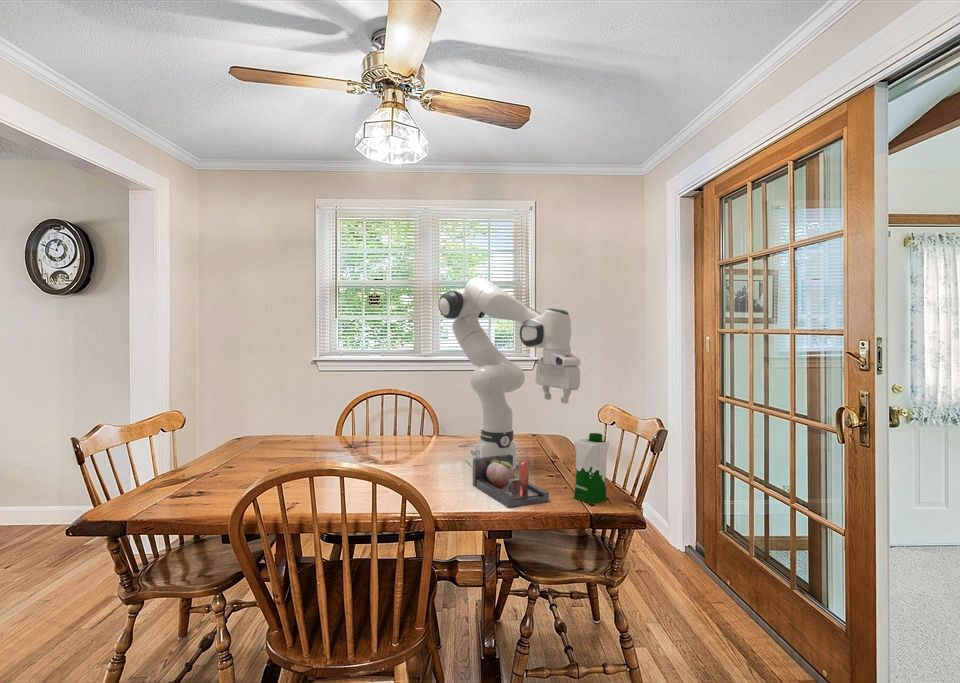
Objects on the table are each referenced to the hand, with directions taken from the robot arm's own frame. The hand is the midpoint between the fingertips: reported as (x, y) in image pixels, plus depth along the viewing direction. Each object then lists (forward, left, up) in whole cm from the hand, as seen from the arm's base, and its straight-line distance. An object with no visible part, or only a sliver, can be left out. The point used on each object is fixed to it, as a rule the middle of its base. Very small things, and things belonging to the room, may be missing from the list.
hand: (556, 401), depth 168 cm
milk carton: (+12, +5, -29) cm, 32 cm away
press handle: (+4, -15, -29) cm, 33 cm away
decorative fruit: (-9, -15, -29) cm, 34 cm away
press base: (-4, -15, -29) cm, 33 cm away
